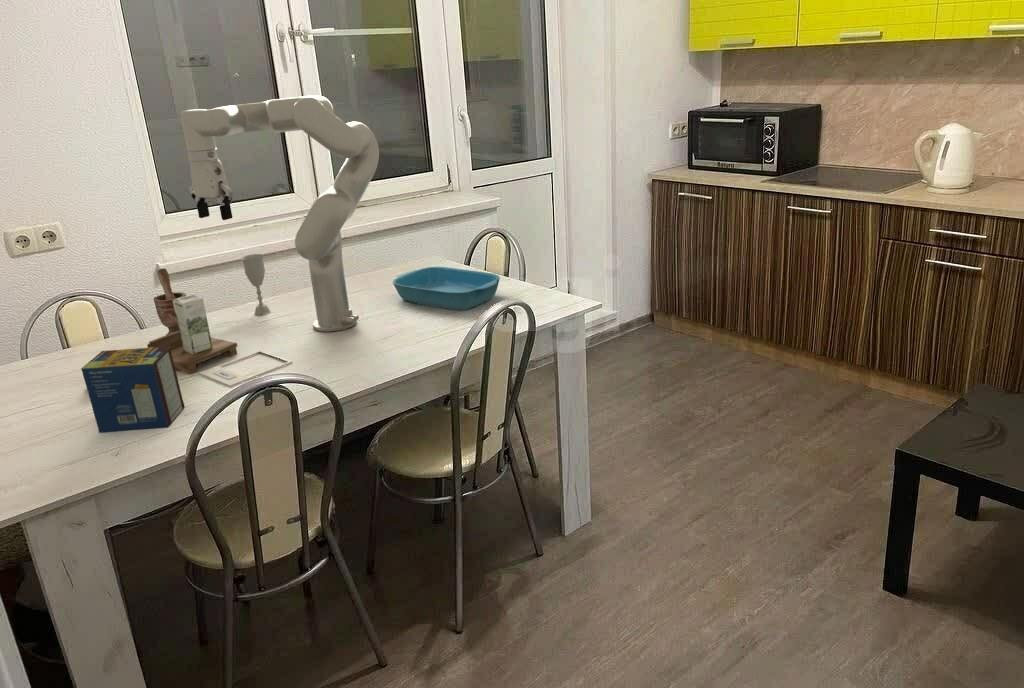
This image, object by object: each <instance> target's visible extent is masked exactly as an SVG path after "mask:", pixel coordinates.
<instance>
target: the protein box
mask: <svg viewBox="0 0 1024 688" xmlns="http://www.w3.org/2000/svg"><path fill="white" fill-rule="evenodd" d="M80 370H81V373H82V376H83V379H84V383H85V386H86V389H87V390H86V391H87V394H88V397H89V400H90V404H91V407H92V412H93V415H94V418H95V422H96V426H97V429H98V433H100V434H101V433H102V434H103V433H115V432H130V431H131V432H132V431H143V430H144V431H145V430H154V429H155V430H156V429H168V428H170V426H171V425H172V424H173V422H174V421H175V420H176V419H177V418H178V416H179V415H180V414H181V412H182V411H183V410H184V408H185V403H184V400H183V395H182V391H181V386H180V384H179V383H180V382H179V379H178V374H177V371H176V370H175V366H174V362H173V358H172V354H171V349H170V346H161V347H149V348H148V347H140V348H125V349H116V350H115V349H113V350H112V349H111V350H102V351H100V352H99V353H98V354H96V355H95V357H93V358H92V359H91V360H89V361H88V362H87V363H85V365H84V366H82V367H80Z"/></svg>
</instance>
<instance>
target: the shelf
mask: <svg viewBox="0 0 1024 688" xmlns="http://www.w3.org/2000/svg"><path fill="white" fill-rule="evenodd" d="M167 334H168V333H167ZM211 341H212V346H213V348H212V349H209V350H206V351H203V352H200V353H197V354H194V355H193V354H191V353H188V352H186V351H184V350H183V346H182V341H181V337H180V332H179V331H176V332H174V333H171V334H168V335H166V334H165V335H163V336H160V337H158V338H156V339H155V338H154V339H153V340H150V341H148V342H149V343H148V344H150V347H161V346H170V349H171V354H172V358H173V362H174V366H175V370H176V372H181V373H185V374H190V375H191V374H194V373H197V372H198V368H197V364H199V363H201V362H204V361H206V360H209V359H211V358H213V357H216V356H218V355H223V356H228V357H233V355H234V356H236V355H238V351H237V347H238V343H237V342H233V341H228V340H225V339H224V340H223V339H219V338H215V337H211ZM235 354H236V355H235Z"/></svg>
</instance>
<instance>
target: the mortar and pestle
mask: <svg viewBox="0 0 1024 688" xmlns="http://www.w3.org/2000/svg"><path fill="white" fill-rule="evenodd" d="M156 273H157V277H158V280H159V282H160V284H161V286H162V289H163V292H164V294H160V295H157V296H154V298H153V302H154V306H155V309H156V314H157V316H158V319H159V320H160V322H161V324H162V325H163V326H164V327H166V328H167V329H168V332H167V333H166V334H165V336H166V335H168V334H171V333H174V332H176V331H179V328H178V323H177V318H176V314H175V310H174V305H173V300H174V299H178V298H182V297H185V296H187V293H184V292H180V291H179V292H173V290H172V287H171V281H170V274H169V272H168V270H167V268H159V269H158V270H157V272H156Z"/></svg>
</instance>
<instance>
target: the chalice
mask: <svg viewBox="0 0 1024 688" xmlns="http://www.w3.org/2000/svg"><path fill="white" fill-rule="evenodd" d="M264 257H265V254H261V253H255V254H254V253H253V254H248V255H245V256H244V255H243V256H242V257H241V258H240V260H241V261H242V263H243V268H244V274H245V276H246V277H247V279H248V281H249V282H250V284H251V285H252V286H253V287H255V288H256V294H257V297H256V299H257V300H258V305H256V306H255V310H254V313H255V314H256V316H262V315H261V314H265V315H267V314H266V313H268V314H270V313H271V312H270V311H271V309H270V307H269V306H268V305H267V304H264V303H263V296H262V290H261V289H260V288H261V287H260V286H261V285H263V283H264V280H265V273H266V269H265V263H264ZM269 312H270V313H269ZM255 314H254V315H255Z"/></svg>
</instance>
